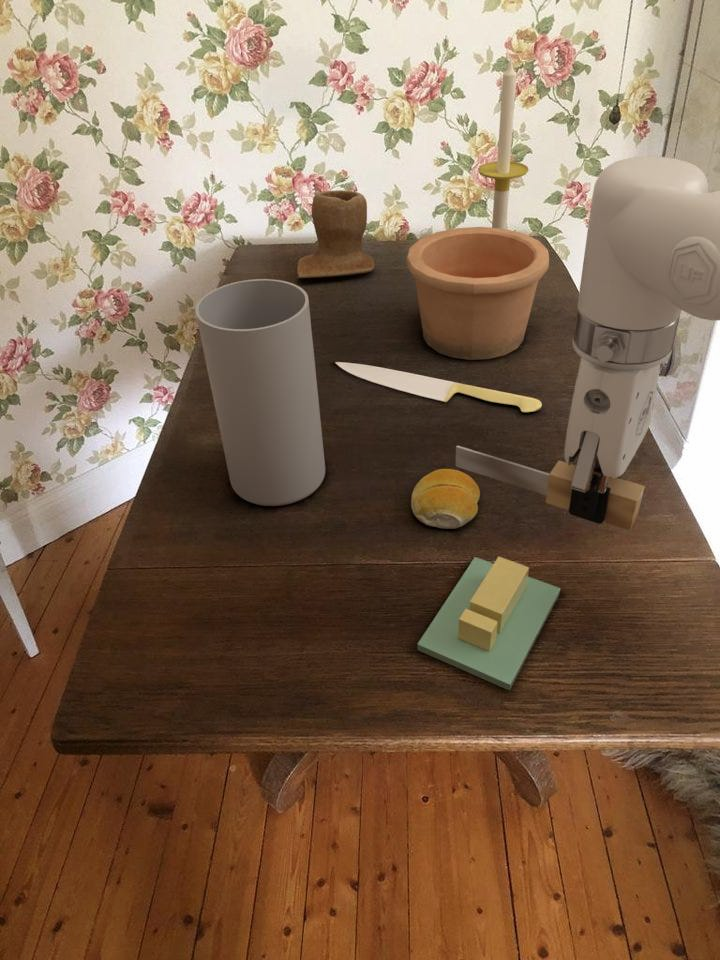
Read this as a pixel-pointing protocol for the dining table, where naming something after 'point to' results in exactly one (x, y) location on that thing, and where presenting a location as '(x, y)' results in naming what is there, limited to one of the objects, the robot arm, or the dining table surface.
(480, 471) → the wooden handled knife
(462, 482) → the bread roll
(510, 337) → the pottery
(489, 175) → the candle
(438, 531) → the dining table surface
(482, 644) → the butter slice
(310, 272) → the stone cup
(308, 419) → the cylinder vase
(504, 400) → the knife
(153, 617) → the dining table surface
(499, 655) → the butter dish
